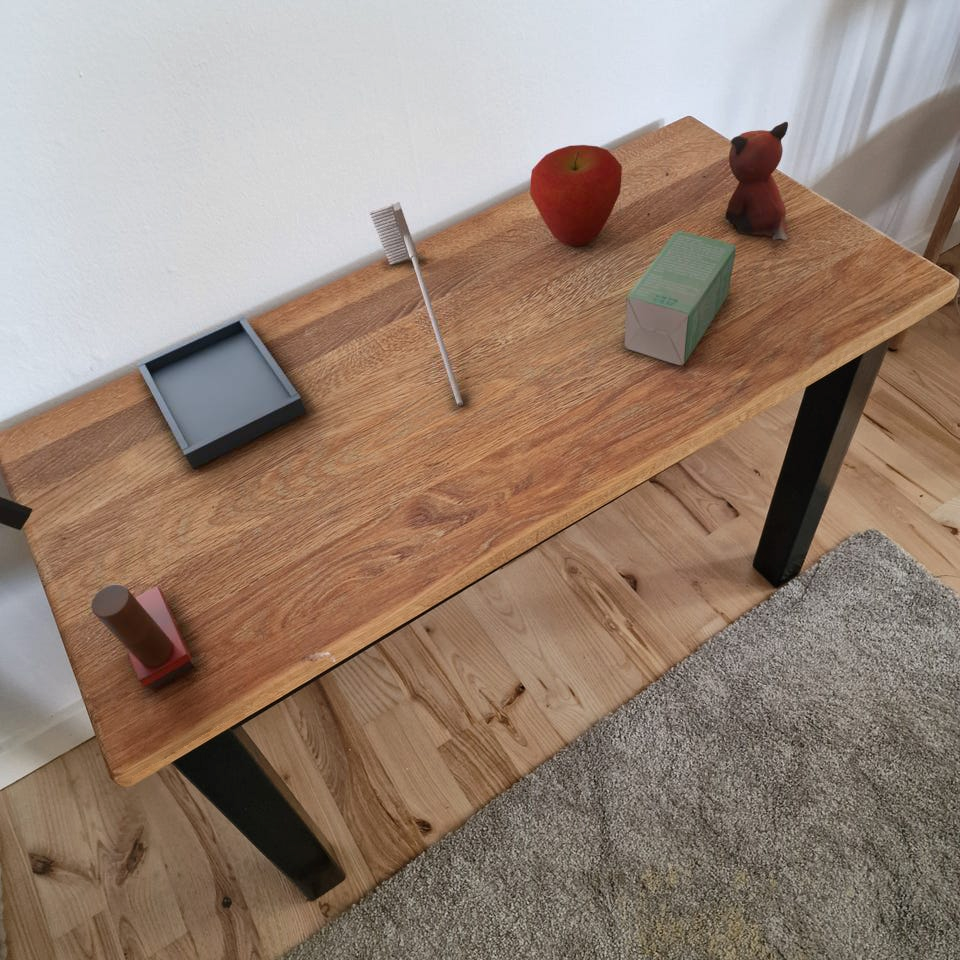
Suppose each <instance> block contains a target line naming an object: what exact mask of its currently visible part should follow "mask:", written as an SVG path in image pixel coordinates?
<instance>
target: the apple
mask: <svg viewBox="0 0 960 960" xmlns="http://www.w3.org/2000/svg"><path fill="white" fill-rule="evenodd" d="M622 173H623V166H622V164H621V163H620V162H619V160H618V159H617V158H616V157H615V156H614V155H613V154H612V153H611V152H610V151H609V150H608V149H606V148H603V147H600V146H597V145H588V144H575V145H568V146H567V145H566V146H564V147H561V148H557V149H555V150H553V151H551V152H549V153H546V154H545V155H544V156H543V158H541V159H540V160H539V161H538V162H537V163H536V165H535V166H534V167H533V168H532V169H531V175H530V184H529V186H530V187H529V195H530V197H531V199H532V201H533V203H534V205H535V207H536V209H537V211H538V213H539V214H540V216H541V218H542V220H543V222H544V223H545V225H546V226H547V228H548V230H549V232H550V233H551V235H552V236H553V238H554V239H556V241H559V242H560V243H562V244H563V245H566V246H568V247H572V248H573V247H575V248H577V247H582V246H585V245H587V244H589V243H590V242H592V241H593V240H595V239H596V238H598V236H599V235H600V233H601V232H602V230H603V229H604V228H605V225H606V223H607V222H608V220H609V218H610V216H611V214H612V212H613V210H614V208H615V205H616V203H617V201H618V199H619V196H620V194H621V186H622Z"/></svg>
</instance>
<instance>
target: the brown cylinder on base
mask: <svg viewBox="0 0 960 960" xmlns="http://www.w3.org/2000/svg"><path fill="white" fill-rule="evenodd" d="M91 611H92V614H93V615H94V616H95V617H96V618H97V619H98V620H99V621H100V622H101V623H102V624H103V625H104V626H105V627H106V628H107V629H108V630H109V631H110V633H112V634H113V636H114V637H115V638H116V639H118V641H119V642H120V644H122V645H123V646H124V647H125V649H126V651H127V653H128V656H129V660H130V662H131V664H132V667H133V670H134V672H135V675H136V678H137V680H138V682H139V683H140V684H141V685H142V686H143V687H146V686H148V687H149V688H150V689H151V691H152V692H153V691H156V690H158V689H159V688H161V687H163V686H164V685H166V684H168V683H170V682H172V681H173V680H175V679H176V678H178V677H181V676H182V675H184V674H186V673H187V672H189V671H190V670H193V669H194V668H196V665H195V663H194V660H193V658H192V655H191V654H190V651H189V649H188V647H187V644H186V642H185V640H184V637H183V635H182V633H181V630H180V628H179V625H178V623H177V621H176V619H175V616H174V615H173V612H172V609H171V607H170V605H169V603H168V601H167V599H166V597H165V595H164V592H163V590H162V589H161V588H160V587H159V586H158V585H156V586H154V587H152V588H151V589H149V590H146V591H145V592H143V593H141V594H139V595H137V596H134V594H133V593H132V592H131V591H130V590H129V588H128V587H126V586H125V585H123V584H119V583H114V584H109V585H107V586H105V587H103V588H101V589H100V590H99V591H98V592H97V593H96V594H95V595H94V597H93V599H92V601H91Z"/></svg>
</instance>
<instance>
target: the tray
mask: <svg viewBox="0 0 960 960" xmlns="http://www.w3.org/2000/svg"><path fill="white" fill-rule="evenodd" d="M136 366H137V367H138V369H139V372H140V373H141V375H142V377H143V379H144V381H145V382H146V383H145V384H147V387H148V389H149V390H150V393H151V394H152V396H153V398H154V400H155V402H156V403H157V405H158V407H159V409H160V411H161V413H162V415H163V418H164V419H165V421H166V423H167V425H168V427H169V429H170V430H171V432H172V434H173V436H174V438H175V440H176V442H177V444H178V446H179V447H180V449H181V451H182V453H183V455H184V456H185V457H184V458H186V460H187V462H188V464H189V465H190V467H191V468H192V469H196V468H197V467H199V466H202V465H203V464H205V463H207V462H209V461H211V460H213V459H215V458H217V457H219V456H222V455H223V454H225V453H227V452H229V451H231V450H233V449H235V448H237V447H240V446H241V445H244V444H246V443H248V442H250V441H252V440H253V439H255V438H258V437H260V436H262V435H263V434H265V433H267V432H269V431H272V430H273V429H275V428H278V427H280V426H282V425H284V424H285V423H287V422H290V421H291V420H293V419H295V418H298V417H299V416H302V415H304V414H306V413H307V409H306V405H305V404H304V402H303V401H304V400H303V398H302V397H301V395H300V394H299V392H298V391H297V390H296V388H295V387H294V385H293V384H292V383H291V381H290V380H289V378H288V376H287V375H286V374H285V373H284V371H283V370H282V368H281V367H280V365H279V364H278V362H277V361H276V359H275V358H274V357H273V355H272V354H271V352H270V351H269V350H268V348H267V347H266V345H265V344H264V343H263V341H262V340H261V338H260V337H259V335H258V334H257V333H256V331H255V330H254V328H253V327H252V325H251V324H250V322H249V321H248V319H247V318H246V317H245V316H244V314H242V315H239V316H237V317H235V318H232V319H230V320H228V321H226V322H224V323H222V324H219V325H217V326H216V327H213V328H211V329H209V330H207V331H206V330H205V331H204V332H201V333H200V334H197V335H195V336H193V337H190V338H189V339H187V340H184V341H182V342H180V343H178V344H175V345H174V346H173V345H172V346H170V347H169V348H166V349H164V350H162V351H159V352H157V353H155V354H154V355H151V356H149V357H147V358H145V359H142V360H140V361H137V362H136Z"/></svg>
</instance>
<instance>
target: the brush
mask: <svg viewBox="0 0 960 960" xmlns="http://www.w3.org/2000/svg"><path fill="white" fill-rule="evenodd" d="M369 215H370V218H371V221H372V222H373V225H374V228H375V230H376V233H377V234H378V238H379V240H380V244H381V245H382V248H383V251H384V253H385V255H386V257H387V260H388V263H389V266H392V265H395V264H399V263H402V262H404V261H407V260H410V261H411V262H412V265H413V268H414V270H415V274H416V277H417V280H418V283H419V287H420V290H421V294H422V296H423V301H424V303H425V305H426V306H425V307H426V309H427V313H428V315H429V320H430V322H431V325H432V328H433V331H434V334H435V339H436V342H437V345H438V348H439V351H440V354H441V357H442V360H443V363H444V366H445V370H446V373H447V376H448V379H449V383H450V386H451V389H452V392H453V395H454V398H455V402H456V405H457V406H458V407H461V406H463V405H464V402H463V400H462V396H461V393H460V390H459V387H458V384H457V380H456V377H455V374H454V371H453V367H452V365H451V361H450V359H449V355H448V352H447V349H446V346H445V343H444V340H443V337H442V333H441V330H440V327H439V324H438V321H437V317H436V315H435V311H434V308H433V306H432V302H431V299H430V295H429V292H428V289H427V287H426V283H425V280H424V276H423V273H422V270H421V267H420V264H419V263H420V258H419V255H418V253H417V252H418V251H417V249H416V246H415V244H414V240H413V237H412V235H411V232H410V229H409V226H408V224H407V220H406V218H405V217H406V216H405V214H404V211H403V209H402V206H401V202H400V201H398V202H395V203H390V204H389V205H387V206H384V207H381V208H378V209H375V210H373V211H370V212H369Z"/></svg>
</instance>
